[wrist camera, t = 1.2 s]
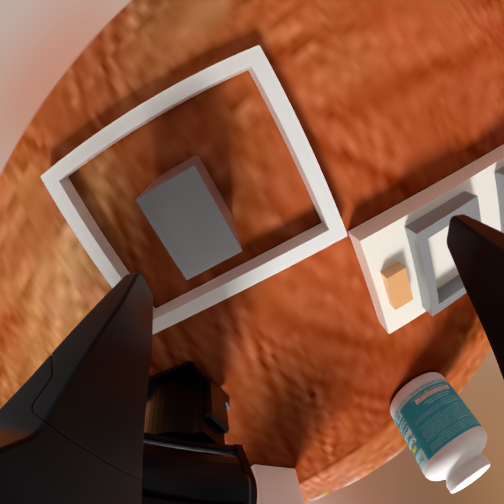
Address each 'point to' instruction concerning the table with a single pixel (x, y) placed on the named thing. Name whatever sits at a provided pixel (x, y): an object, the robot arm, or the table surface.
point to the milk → (277, 485)
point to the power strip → (426, 241)
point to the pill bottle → (440, 431)
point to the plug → (190, 217)
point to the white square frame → (246, 272)
